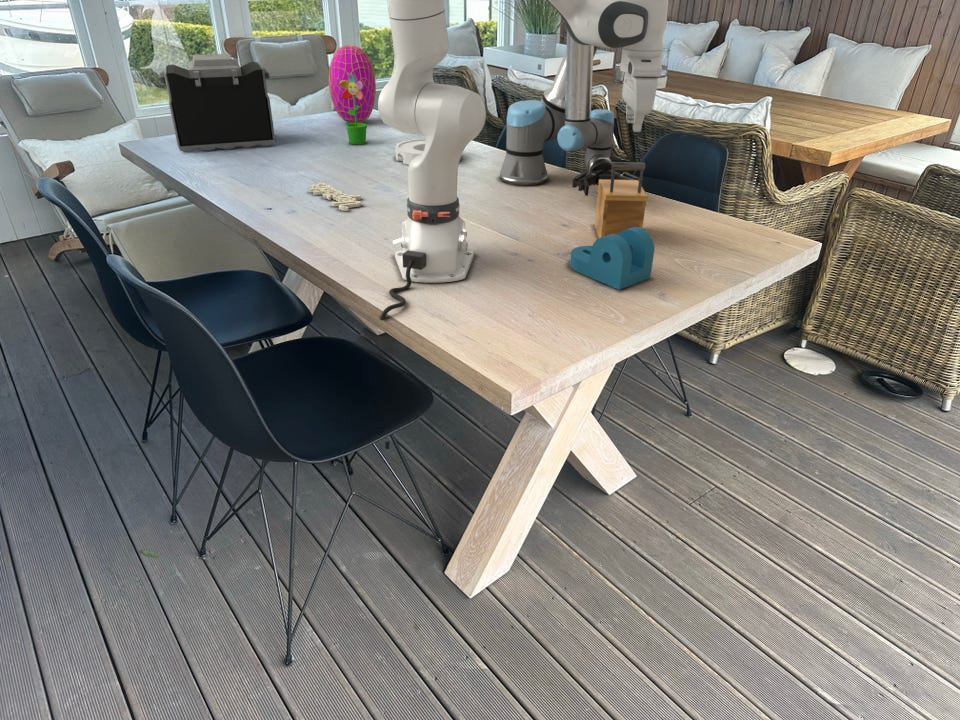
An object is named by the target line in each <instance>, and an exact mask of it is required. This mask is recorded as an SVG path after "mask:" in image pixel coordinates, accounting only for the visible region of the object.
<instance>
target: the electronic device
mask: <svg viewBox="0 0 960 720" xmlns="http://www.w3.org/2000/svg"><path fill="white" fill-rule="evenodd" d="M187 66H188V68H187V69H186V68H184V67H181V66H179V65H176V64H165V66H164V71H161V72H159V83H161V84H165V85H166V89H167V94H168V107H169V111H170V115H171V120H172V125H173V130H174V135H175V140H176V144H177V148H178V150H179V152H183V153H192V152H194V151H198V150H202V151H204V152H209V151H213V150H215V149H222V150H233V149H235V148H236V147H238V148H239V147H242V148H245V149H247V148H251V149H252V148H253V147H255V146H262V147H272V146H273V145H275V144H276V135H275V134H276V133H275V128H274V119H273V114H272V105H271V99H270V96H269V95H268V88H267V87H268V85H267V79H270V78H271V76H270V72H269V71H268V70H267V68H265V67H262V66H261V64H260V63H259V62H258V61H249V62H248V63H245V64H244V65H242V66H240V64H239V63H238V61H237V60H235V59H233V58H232V56H231V54H230V53H217V54H211V55H210V54H209V55H208V54H207V55H206V54H203V53H202V54H193V55H192V59H191V60H190V61H188V62H187Z"/></svg>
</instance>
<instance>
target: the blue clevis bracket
mask: <svg viewBox="0 0 960 720" xmlns="http://www.w3.org/2000/svg"><path fill="white" fill-rule="evenodd" d="M654 255H655V244H654V240H653V238H652V236H651V235H650V234H649V232H648V231H647V230H646V229H644V228H640V227H633V228H629V229H626V230H623V231H621V232H620V233H619V234H618V235H617V234H610V235H607V236H604V237H601V238H599V237H598V238H597V239H595V241H594V242H593V243H592V245H581V246H577V247H575V248H572V249H571V251H570V257H569V258H570V259H569V266H570V268H571V269H572V270H573V271H575V272H577V273H579V274H582V275H584V276H586V277H588V278H591V279H593V280H595V281H598V282H600V283H603V284H605V285H607V286H609V287H611V288H613V289H616V290H619V291H620V290H622V289H626V288H627V287H630V286H633V285H636V284H638V283H640V282H643V281H646V280H648V279H651V277H652V269H653V262H654V257H655V256H654Z"/></svg>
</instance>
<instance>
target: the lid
mask: <svg viewBox="0 0 960 720" xmlns="http://www.w3.org/2000/svg"><path fill="white" fill-rule="evenodd" d="M611 162H612V166H611V168H612V175H611V180H602V179H599V186H600V188H601V191H602V193H603V195H604V198H605V200H619V201H646V202H647V201H648V195H647V193H646V191H645V189H644V187H643V188H642V179H643V177H644V171H645V170H646V162H629V161H628V162H627V161H624V162H623V161H611ZM615 170H616V171H639V177H638V178H639V181H638V180H614V178H615ZM643 180H644V179H643Z"/></svg>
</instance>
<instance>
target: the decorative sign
mask: <svg viewBox="0 0 960 720" xmlns="http://www.w3.org/2000/svg"><path fill="white" fill-rule="evenodd" d="M308 189H309V190H308V191H309V193H313V195H314V196H319V195H320V196H321V195H322V198H323V199H324V200H326V199H327V200H328V201H332V200H334V201H332V202H331V204H332V205H331V206H332V207H338V210H340V211H344V212H349V211H350V210H349V209H352V208H358V207H361V206H362V201H360V200H362V195H361V194H347V193H343V191H341V190H339V189H336V188H334V187H332V186H331V185H329V184H326V182H319V183H317V184H315V183H313V184H311V187H309V188H308Z"/></svg>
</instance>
